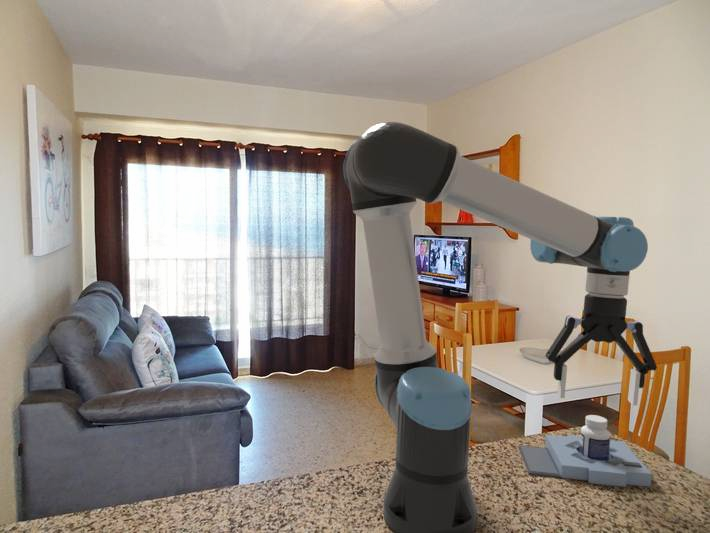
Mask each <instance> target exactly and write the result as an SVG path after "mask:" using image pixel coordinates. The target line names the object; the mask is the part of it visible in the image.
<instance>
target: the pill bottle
mask: <svg viewBox="0 0 710 533" xmlns="http://www.w3.org/2000/svg"><path fill="white" fill-rule="evenodd" d="M584 423H585V425H583V426H582V427H581V428H580V435H579V436H580V452H579V454H580V455H583V456H585V457H588V458H590V459H593V460H603V461H608V460H609V447H610V440H611V432H610V431H609V430H608V429H607V428H608V419H607V418H605V417H604V416H600V415H598V414H597V415H595V414H589V415H586V416H585V422H584Z"/></svg>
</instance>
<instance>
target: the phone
mask: <svg viewBox="0 0 710 533" xmlns="http://www.w3.org/2000/svg"><path fill="white" fill-rule="evenodd" d="M517 447H518V451H519V453H520V456H521V458H522V461H523V463H524V464H523V465H524V466H525V469H526V471H527V474H528V475H529V476H540V477H548V478H549V477H550V478H559V479H560V478H561V474H560V473H559V471H558V469H557V467H556V465H555V463H554V461H553V459H552V457H551V455H550V453H549V451H548V449H547V448H546V447H543V446H542V447H541V446H529V445H522V444H521V445H517ZM561 479H562V478H561Z"/></svg>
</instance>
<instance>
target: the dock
mask: <svg viewBox="0 0 710 533" xmlns="http://www.w3.org/2000/svg"><path fill="white" fill-rule="evenodd" d="M580 436H581V435H573V434H567V435H566V436H564V435H555V434H554V435H553V434H545V442H544V443H545V444H544V447H545V448H547V449H548V451H549V453H550V455H551V457H552V459H553V461H554V463H555V465H556V467H557V469H558V471H559V473H560V474H561V479H572V480H580V481H587V482H588V484H595V485H604V486H605V485H606V486H613V487H614V486H616V487H625V488H626V486H628V485H630V486H631V485H632V486H640V487H641V486H642V487H648V488H651V487H652V479H653V473H652V472H651V471H650V470H649V468H648V467H646V465H645V464H644V463H643V462H642V461H641V459H639V458H638V456H637V455H636V454H635V453H634V451H633V450H632V449H631V448H630V447H629V446H628V445H627V444H626V443H625V441H622V440H621V441H620V440H611V439H610V447H609V460H608V461H603V460H593V459H590V458H588V457H585V456H583V455H580V454H579V452H580Z"/></svg>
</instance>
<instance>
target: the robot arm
mask: <svg viewBox="0 0 710 533" xmlns="http://www.w3.org/2000/svg"><path fill="white" fill-rule="evenodd" d="M342 169H343V170H342V171H343V178H344V181H345V184H346V185H347V187H348V189H349V193H350V199H351V206H352V212H353V213H354V215H356V216H357V217H359V218H360V219H361V220H362V223H363V229H364V230H363V231H364V238H365V245H366V251H367V258H368V265H369V272H370V278H371V286H372V287H371V288H372V295H373V300H374V306H375V314H376V321H377V327H378V333H379V336H378V337H379V341H380V347H379V348H378V349H377V351H375V353H374V356H373V357H374V358H373V359H374V363H375V364H374V366H375V375H374V390H375V394H376V397H377V399H378V400H377V401H379V404H380V405H381V406H382V407H383V408H384V410H385V411H386V413H387V414H388V417H389V418H390V420H391V421H392V423H393V425H394V427H395V430H396V438H395V439H396V442H395V444H396V445H395V466H394V470H393V473H392V476H391V479H390V481H389V484H388V486H387V489H386V491H385V494H384V497H383V509H382V515H383V518H384V521H385V523H386V525H387V526H388V527H389V528H390V529H391V530H392V531H393V532H394V533H474V532H475V530H476V528H477V518H478V516H477V513H478V512H477V511H478V510H477V505H476V503H475V502H476V501H475V498H474V494H473V490H472V487H471V483H470V480H469V476H468V470H469V469H468V465H469V451H470V435H471V434H470V433H471V415H472V412H473V411H472V409H473V404H472V397H471V395H472V394H471V393H472V392H471V388H470V386H469V384H468V382H467V381H466V380H465V379H464V378H463V377H462V376H461V375H459V374H457V373H455V372H454V371H448V370H447V369H444V368H440V367H439V363H438V354H437V349H436V347H435V346H434V345H433V344H431V343H430V342H429V341H428V340H427V334H426V327H425V321H424V320H425V319H424V312H423V305H422V298H421V297H422V296H421V288H420V281H419V274H418V268H417V267H418V266H417V261H416V252H415V245H414V238H413V237H414V236H413V230H412V221H411V215H410V214H411V212H412V210H413V209H414V207H416V205H417V200H420V201H423V202H425V203H427V204H429V205H432V204H435V203H437V202H442V203H444V204H446V205H449V206H451V207H454V208H456V209H458V210H461V211H463V212H465V213H468V214H471V216H472V215H473V216H475V217H477V218H480V219H482V220H484V221H487V222H489V223H492V224H495V225H496V226H499V227H500V228H504V229H506V230H508V231H511V232H513V233H515V234H518V235H521V236H523V237H525V238H528V239H529V240H530V252H531V256H532V257H533V258H534V260H535V261H537V262H539V263H547V264H551V265H552V264H561V265H562V264H563V265H569V266H575V267H576V266H578V267H585V268H587V269H586V277H585V278H586V279H585V280H586V282H585V288H584V289H585V292H586V293H587V294H586V295H584V301H583V314H582V316H581V318H579V317H578V318H577V317H573V316H571V315H566V317H565V320H564V325H563V327H562V328H561V330H560V332H559V333H558V335H557V336H556V337H555V339H554V341H553V342H552V344H551V346H550V347H549V349H547V352H546V353H545V357H546V359H547V360H548V361H550V362H552V363H554V365H553V366H554V367H553V378H554V379H555V381H557V391H556V394H557V395H558V397H559V398H560V399H565V395H566V387H567V386H566V384H567V374H568V372H567V371H568V366H567V365H566V362H567V361H568V360H570V359H571V358H572V357H573V356H574V355H575V354H576V353H577V352H578V351H579V350H580V349H581V348H582V347H583V346H585V344H588V343H589V342H590V341H594V342H595V343H600V342H605V343H608V344H611V343H614V342H615V343H616V345H617V346H618V347H619V348H620V350H621V351H622V352H623V354H624V355H625V356H626V357H627V358H628V360H629V361H630V363H631V364H632V365H633V366H634V368H635V369H634V368H630V374H629V385H628V394H627V401H628V402H629V403H630V404H631V405H632V406H638V401H639V392H640V391H639V390H640V389H644V386H645V381H646V380H645V378H646V375H647V374H648V373H649V371H657V369H658V367H657V364H656V363H657V362H656V361H655V359H654V357H653V354H652V352H651V350H650V347H649V344H648V342H647V340H646V338H645V336H644V325H643V323H642V322H639V321H637V320H632V321H626V315H627V305H628V300H627V298H626V297H625V296H627V295H628V294H629V284H630V272H631V271H634V270H635V269H637V268H639V267H640V266H641V265H642V264H643V262H644V261H645V259H646V257H647V254H648V249H649V245H648V240H647V237H646V235H645V233H644V232H643V231H642V230H641V229H640V228H638V227H636V226H634V224H635V223H634V221H633V220H632V219H631V218H629V217H623V216H595V215H593V214H590V213H589V212H585V211H584V210H581V209H579V208H576V207H574V206H572V205H570V204H568V203H566V202H564V201H561V200H559V199H557V198H555V197H552V196H551V195H548V194H545V193H544V192H542V191H540V190H537V189H535V188H533V187H530V186H528V185H526V184H525V183H521V182H520V181H517V180H515V179H512V178H511V177H509V176H506V175H504V174H502V173H499V172H498V171H495V170H493V169H490V168H488V167H486V166H484V165H482V164H479V163H477V162H476V161H473V160H470V159H468V158H466V157H464V156H462V155H461V153H460V150H459V148H458V146H456V145H454V144H453V143H450V142H447V141H445V140H443V139H441V138H439V137H437V136H434V135H432V134H430V133H428V132H425V131H424V130H421V129H419V128H416V127H414V126H412V125H410V124H406V123H403V122H398V121H386V122H385V121H384V122H381V123H378V124H375V125H373V126H371V127H370V128H368V129H367V130H366V131H365V132H364V133H363V134H362V135H361V136H360V137H359V138H357V139H356V140H355V141H354V142H353V143H352V144H351V146H349V148H348V150H347V152H346V154H345V158H344V160H343V168H342ZM579 325H580V326H581V328H582V329H583V330H581V332H580V333H579V334H577V336H576V337H575V338H574V339H573V340H572V341H571V342H570V343H569V344H567V346H566V347H564V346H565V344H566V342H567V341H568V339H569V338H570V336H571V335H572V333H573V332H574V329H577V328H578V327H579ZM627 329H628V331H629V332H630V333H631V335H632V337H633V340H634V342H635V344H636V347H637V349H638V351H639V354H640V356H641V359H642V360H643V362H642V361H641V360H640V358H639V357H638V355H637V354H636V353H635V352H634V350H633V349H632V348H631V346H630V345H629V344H628V342H627V341H626V339H625V338H624V337H623V335H622V334H623V333H624V332H625V331H626V330H627ZM563 348H564V349H563ZM562 349H563V350H562ZM561 350H562V351H561Z"/></svg>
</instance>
